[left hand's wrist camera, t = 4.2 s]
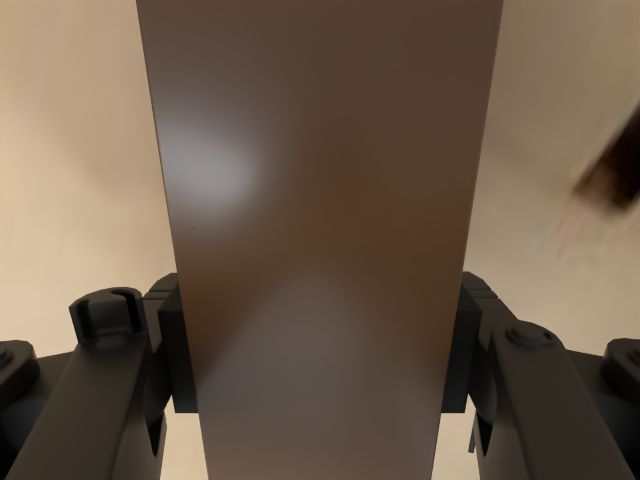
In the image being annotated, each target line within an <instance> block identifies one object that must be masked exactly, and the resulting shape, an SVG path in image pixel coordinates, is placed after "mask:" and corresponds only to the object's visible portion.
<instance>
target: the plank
mask: <svg viewBox="0 0 640 480" xmlns="http://www.w3.org/2000/svg"><path fill="white" fill-rule="evenodd" d="M503 1H504V0H136V4H137V11H138V17H139V24H140V31H141V37H142V44H143V50H144V57H145V64H146V70H147V77H148V83H149V90H150V96H151V103H152V110H153V116H154V123H155V129H156V136H157V143H158V149H159V156H160V162H161V169H162V176H163V182H164V189H165V195H166V202H167V209H168V215H169V222H170V228H171V235H172V241H173V248H174V255H175V261H176V268H177V274H178V281H179V288H180V294H181V301H182V307H183V314H184V321H185V327H186V334H187V340H188V347H189V354H190V360H191V367H192V373H193V380H194V387H195V393H196V400H197V406H198V413H199V419H200V426H201V433H202V439H203V446H204V452H205V459H206V466H207V472H208V479H209V480H431V476H432V470H433V463H434V457H435V450H436V443H437V437H438V430H439V424H440V417H441V410H442V404H443V397H444V391H445V384H446V377H447V371H448V364H449V358H450V351H451V344H452V338H453V331H454V324H455V318H456V311H457V305H458V298H459V291H460V285H461V278H462V272H463V265H464V258H465V252H466V245H467V239H468V232H469V225H470V219H471V212H472V206H473V199H474V192H475V186H476V179H477V173H478V166H479V159H480V153H481V146H482V139H483V133H484V126H485V120H486V113H487V106H488V100H489V93H490V87H491V80H492V73H493V67H494V60H495V54H496V47H497V40H498V34H499V27H500V21H501V14H502V7H503Z"/></svg>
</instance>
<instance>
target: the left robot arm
mask: <svg viewBox="0 0 640 480" xmlns="http://www.w3.org/2000/svg"><path fill="white" fill-rule="evenodd" d="M69 311H70V314H71V318H72V322H73V325H74V329H75V332H76V336H77V340H78V344H77V346H76V348H75V350H74V351H72V352H68V353H62V354H57V355H52V356H47V357H41V358H37V357H36V354H35V351H34V348H33V345H31V344H30V343H28V342H27V341H21V340H11V341H0V480H160V475H161V467H162V460H163V452H164V445H165V437H166V430H167V424H166V418H165V412H164V409H165V407H166V405H167V403H168V401H169V399H170V397H171V395H172V398H173V404H174V409H175V413H198V406H197V400H196V393H195V387H194V380H193V373H192V367H191V360H190V354H189V347H188V340H187V334H186V327H185V321H184V314H183V307H182V301H181V294H180V288H179V281H178V274H177V273H170V274H168V275H167V276H165V277H163V278H161V279H160V280H158V281H157V282H156V283H155V284H154V285H153V286H152V287H151V288H150V290H149V292H147V293H146V294H145V295H144V296H143V298H142V294H141V292H139V291H138V290H137V289H134V288H129V287H113V288H108V289H103V290H99V291H96V292H93V293H90V294H87V295H85V296H83V297H81V298H79V299H78V300H76V301H75V302H74V303H73V304H71V305H70V306H69ZM468 393H469V395H470V397H471V399H472V401H473V403H474V406H475V408H476V412H475V418H474V423H473V428H472V433H471V438H470V443H469V450H468V452H470V453H474V448H475V445H476V451H477V459H478V466H479V474H480V480H640V339H628V338H621V339H613V340H612V341H611V342H609V343H608V344H607V347H606V350H605V353H604V356H597V355H592V354H587V353H581V352H576V351H571V350H567V349H565V347H564V345H563V344H562V342H561V341H560V340H559V338H558V337H557V336H556V335H555V334H553V333H552V332H550V331H549V330H547V329H546V328H544V327H541V326H539V325H536V324H534V323H531V322H526V321H522V320H518V319H517V318H516V317H515V316H514V314H513V313H512V312H511V311H510V310H509V309H508V308H507V306H506V305H505V304H504V303H503V302H502V301H501V300H500V299H498V296H497V295H496V294H495V293H494V292H493V291H491V288H490V287H489V286H488V285H487V284H486V283H485V281H484V280H483V279H481V278H479V277H477V276H476V275H474V274H472V273H470V272H462V278H461V285H460V291H459V298H458V305H457V311H456V318H455V324H454V331H453V338H452V344H451V351H450V358H449V364H448V371H447V377H446V384H445V391H444V397H443V404H442V410H441V413H465V408H466V402H467V397H468Z"/></svg>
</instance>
